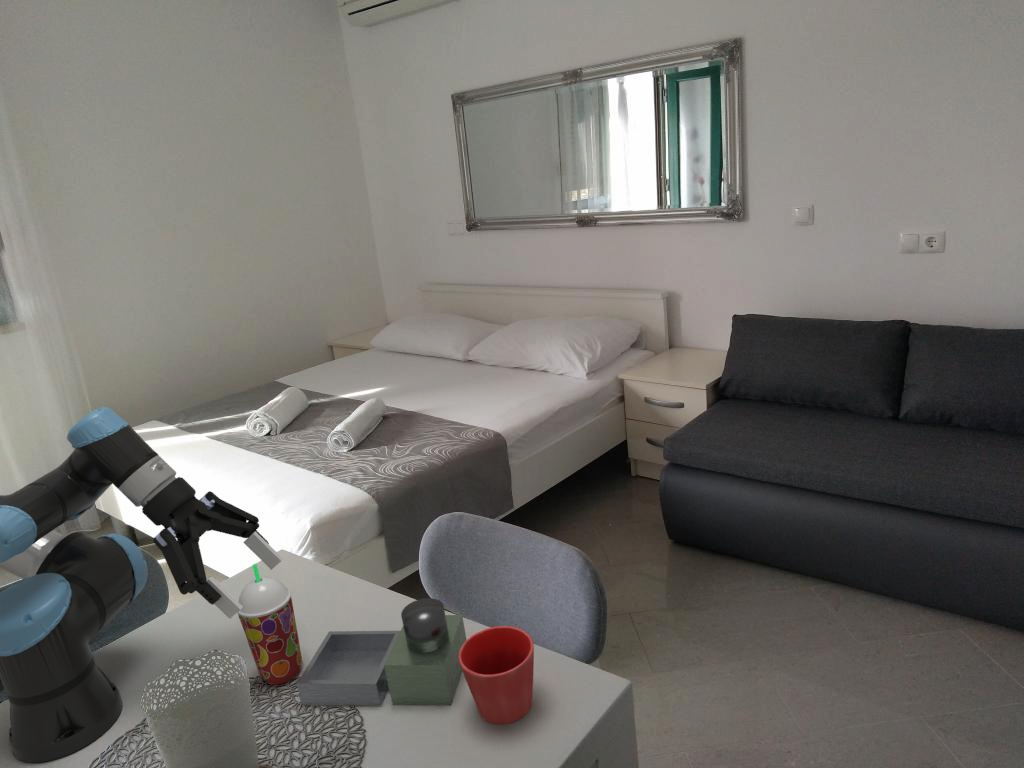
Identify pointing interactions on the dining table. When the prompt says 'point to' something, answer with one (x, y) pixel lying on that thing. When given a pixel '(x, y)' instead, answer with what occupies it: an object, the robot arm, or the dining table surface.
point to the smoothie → (270, 628)
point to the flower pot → (499, 672)
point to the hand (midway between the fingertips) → (258, 587)
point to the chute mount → (389, 662)
